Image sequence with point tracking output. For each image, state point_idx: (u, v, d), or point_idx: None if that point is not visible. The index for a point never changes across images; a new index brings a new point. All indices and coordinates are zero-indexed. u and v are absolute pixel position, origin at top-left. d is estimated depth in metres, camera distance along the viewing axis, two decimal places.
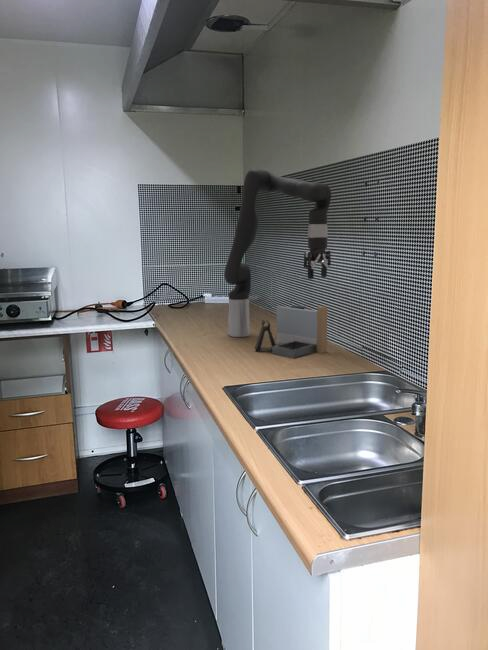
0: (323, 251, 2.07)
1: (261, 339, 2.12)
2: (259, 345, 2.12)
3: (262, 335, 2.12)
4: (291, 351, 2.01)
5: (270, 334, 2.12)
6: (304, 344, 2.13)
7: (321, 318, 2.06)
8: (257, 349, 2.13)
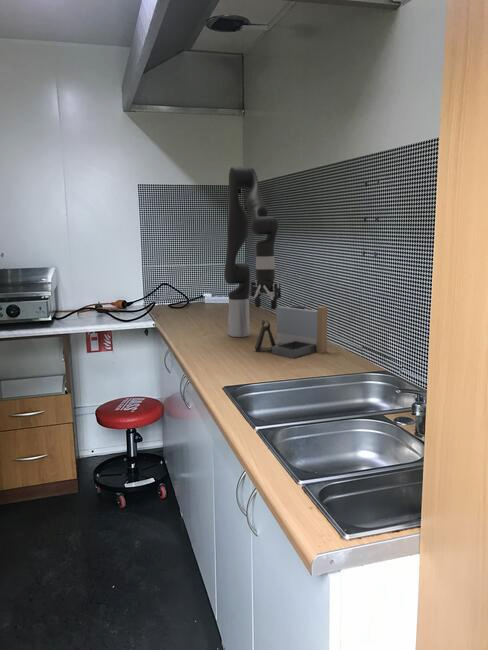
0: None
1: (261, 339, 2.12)
2: (259, 345, 2.12)
3: (262, 335, 2.12)
4: (291, 351, 2.01)
5: (270, 334, 2.12)
6: (304, 344, 2.13)
7: (321, 318, 2.06)
8: (257, 349, 2.13)
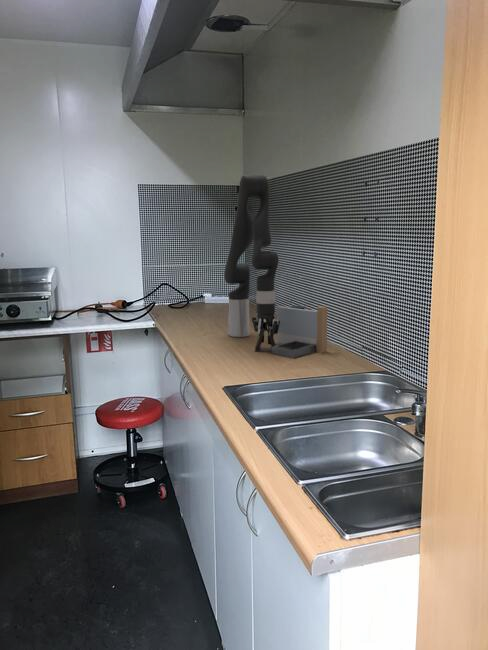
0: None
1: (260, 339, 2.12)
2: (258, 345, 2.13)
3: (261, 335, 2.12)
4: (291, 351, 2.01)
5: None
6: (304, 344, 2.13)
7: (321, 318, 2.06)
8: (256, 349, 2.13)
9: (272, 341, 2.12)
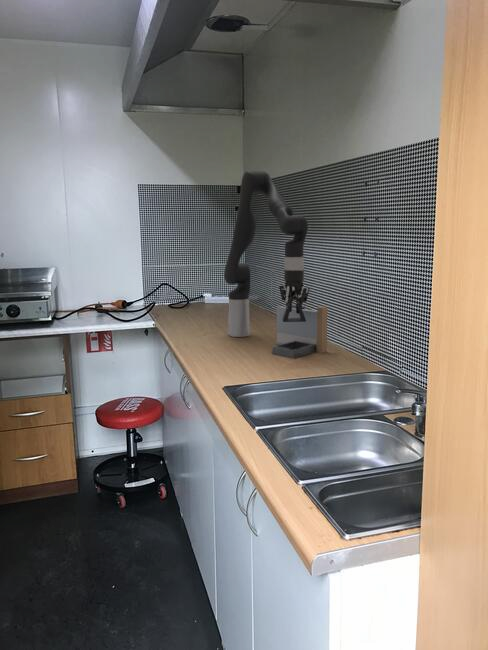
0: None
1: (289, 308, 2.04)
2: (286, 315, 2.04)
3: (290, 304, 2.03)
4: (291, 351, 2.01)
5: (298, 303, 2.03)
6: (304, 344, 2.13)
7: (321, 318, 2.06)
8: (284, 319, 2.04)
9: (301, 311, 2.04)
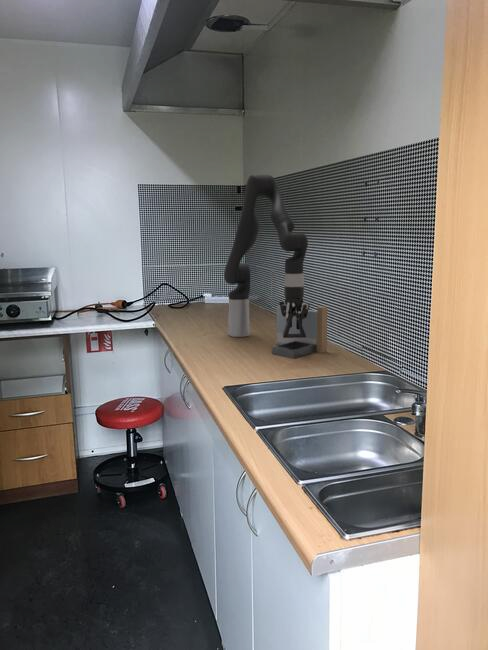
0: None
1: (289, 325, 2.05)
2: (287, 331, 2.05)
3: (290, 320, 2.04)
4: (291, 351, 2.01)
5: (298, 320, 2.04)
6: (304, 344, 2.13)
7: (321, 318, 2.06)
8: (285, 335, 2.06)
9: (301, 327, 2.05)
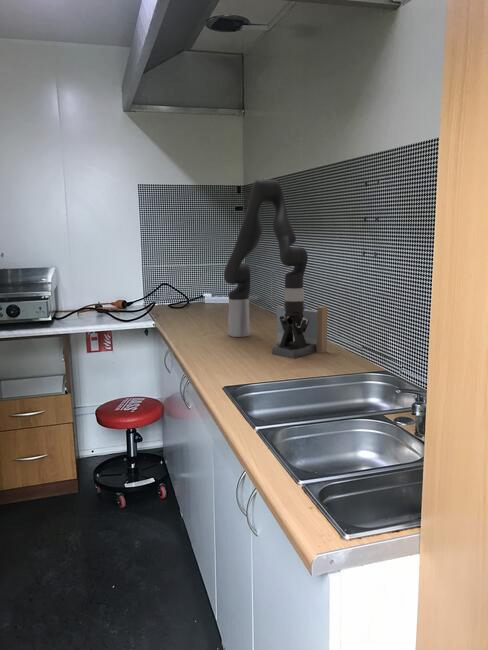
0: None
1: (285, 334, 2.06)
2: (283, 340, 2.07)
3: (286, 330, 2.05)
4: (291, 351, 2.01)
5: (293, 330, 2.04)
6: None
7: (321, 318, 2.06)
8: (281, 344, 2.07)
9: (296, 337, 2.04)
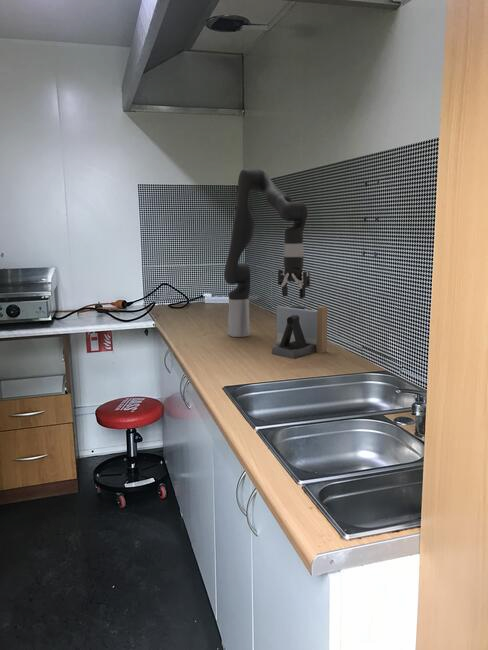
0: None
1: (285, 334, 2.06)
2: (283, 340, 2.07)
3: (286, 330, 2.05)
4: (291, 351, 2.01)
5: (294, 330, 2.04)
6: None
7: (321, 318, 2.06)
8: (281, 344, 2.07)
9: (296, 337, 2.04)
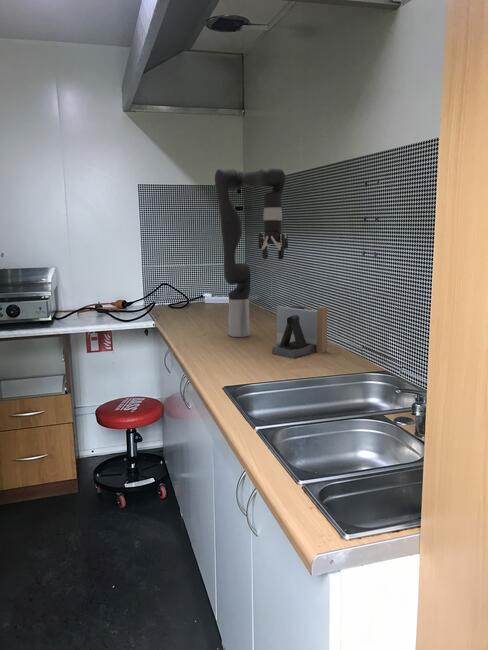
0: None
1: (285, 334, 2.06)
2: (283, 340, 2.07)
3: (286, 330, 2.05)
4: (291, 351, 2.01)
5: (294, 330, 2.04)
6: None
7: (321, 318, 2.06)
8: (281, 344, 2.07)
9: (296, 337, 2.04)
